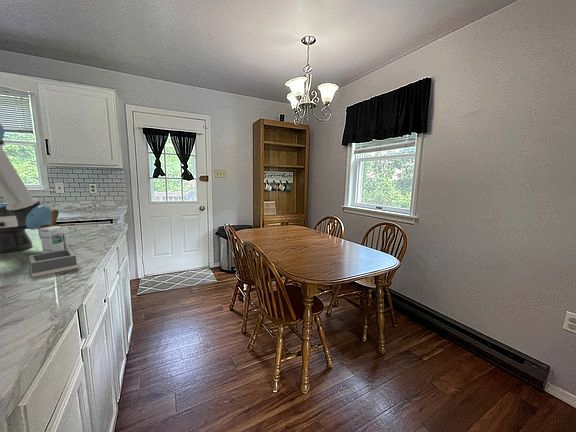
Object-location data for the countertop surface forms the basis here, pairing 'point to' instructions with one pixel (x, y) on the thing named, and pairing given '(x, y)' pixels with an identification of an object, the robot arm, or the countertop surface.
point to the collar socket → (52, 262)
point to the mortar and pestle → (53, 221)
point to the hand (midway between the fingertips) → (17, 220)
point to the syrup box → (52, 239)
